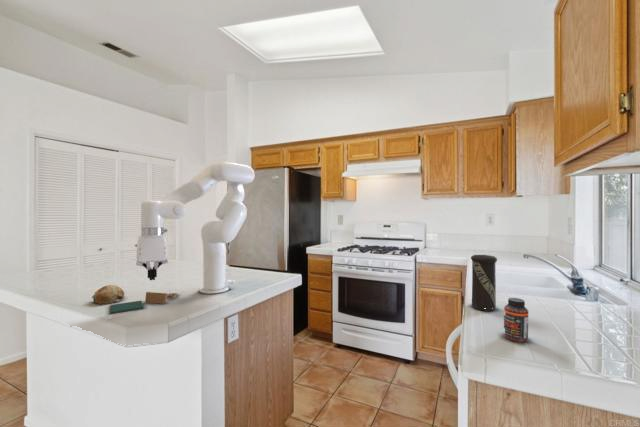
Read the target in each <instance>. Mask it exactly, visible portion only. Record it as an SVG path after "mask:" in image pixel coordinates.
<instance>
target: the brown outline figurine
mask: <svg viewBox="0 0 640 427" xmlns="http://www.w3.org/2000/svg"><path fill="white" fill-rule="evenodd" d="M177 296H178V293H177V292H172V293H171V292H170V293H167V292H154V291H146V292H145V298H144V300H145V303H149V304H163V305H164V304H166V303H167V298H176V297H177Z"/></svg>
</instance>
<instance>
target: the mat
mask: <svg viewBox="0 0 640 427" xmlns="http://www.w3.org/2000/svg"><path fill="white" fill-rule="evenodd" d="M143 309H144V305H143V302H142V300H136V301H129V302H122V303H116V304H115V303H114V304H110V311H109V312H110V315H112V314H119V313H125V312H131V311H138V310H143Z"/></svg>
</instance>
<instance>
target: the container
mask: <svg viewBox="0 0 640 427" xmlns="http://www.w3.org/2000/svg"><path fill="white" fill-rule="evenodd" d="M470 259H471V264H472V266H471V270H472V273H471V282H472V283H471V307H472V308H473V309H475V310H479V311H483V312H484V311H485V312H493V311H496V309H497V292H496V291H497V290H496V289H497V288H496V287H497V285H496V284H497V283H496V282H497V280H496V263H497V261H498V257H496V256H495V255H488V254H473V255H471V256H470ZM484 308H486V309H484ZM492 308H493V309H492Z"/></svg>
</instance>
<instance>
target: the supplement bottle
mask: <svg viewBox="0 0 640 427" xmlns="http://www.w3.org/2000/svg"><path fill="white" fill-rule="evenodd" d="M525 306H526V302H525V300H524V299H522V298H519V297H508V300H507V304H505V306H504V307H503V337H504V338H506V339H507V340H509V341H512V342H516V343H525V342H528V340H529V309H528V308H527V307H525Z"/></svg>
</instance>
